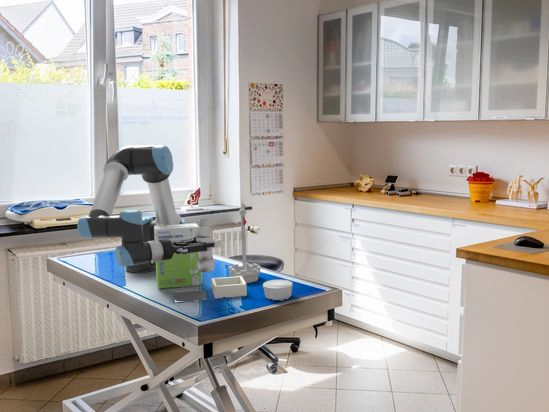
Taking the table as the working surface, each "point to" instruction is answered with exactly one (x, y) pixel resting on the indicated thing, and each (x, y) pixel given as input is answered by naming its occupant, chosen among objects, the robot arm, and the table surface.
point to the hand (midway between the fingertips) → (216, 241)
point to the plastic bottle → (206, 258)
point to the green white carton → (177, 258)
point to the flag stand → (244, 258)
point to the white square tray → (228, 287)
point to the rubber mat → (189, 295)
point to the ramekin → (278, 289)
